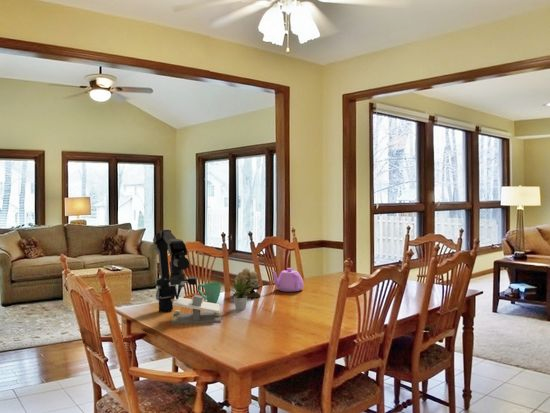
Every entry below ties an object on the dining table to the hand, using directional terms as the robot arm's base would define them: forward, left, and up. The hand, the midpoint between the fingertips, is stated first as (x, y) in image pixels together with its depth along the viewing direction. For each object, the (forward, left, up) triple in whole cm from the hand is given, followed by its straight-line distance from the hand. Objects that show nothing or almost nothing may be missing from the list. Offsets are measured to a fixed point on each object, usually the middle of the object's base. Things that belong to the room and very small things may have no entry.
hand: (177, 299), depth 230 cm
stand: (+9, 0, -10) cm, 13 cm away
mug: (+14, +37, -10) cm, 41 cm away
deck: (+9, 0, -3) cm, 10 cm away
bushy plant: (+36, +47, -10) cm, 60 cm away
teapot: (+61, +60, -10) cm, 86 cm away
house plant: (+31, +16, -10) cm, 36 cm away
